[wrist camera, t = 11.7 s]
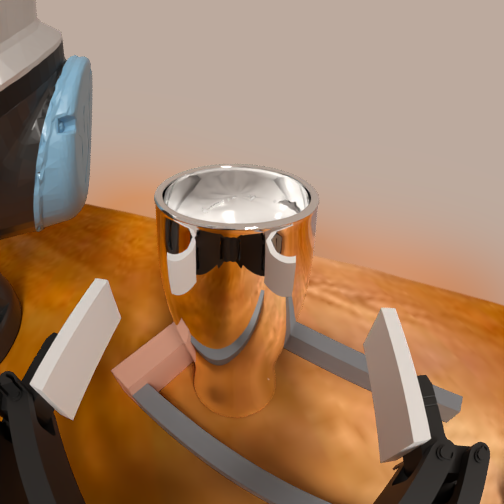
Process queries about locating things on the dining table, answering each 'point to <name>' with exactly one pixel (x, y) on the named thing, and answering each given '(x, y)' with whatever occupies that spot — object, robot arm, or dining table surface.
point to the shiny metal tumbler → (235, 274)
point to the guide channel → (209, 448)
